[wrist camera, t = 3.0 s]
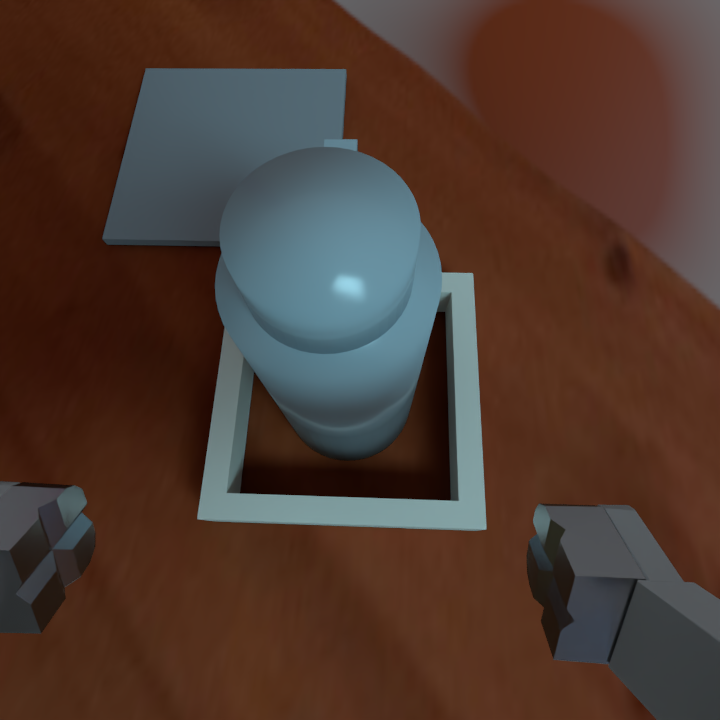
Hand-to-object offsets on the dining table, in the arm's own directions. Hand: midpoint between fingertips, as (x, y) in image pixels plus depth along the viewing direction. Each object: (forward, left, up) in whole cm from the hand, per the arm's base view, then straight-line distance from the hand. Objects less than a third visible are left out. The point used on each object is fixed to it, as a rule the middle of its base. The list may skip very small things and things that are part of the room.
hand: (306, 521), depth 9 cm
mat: (-7, +20, -12) cm, 24 cm away
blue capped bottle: (0, +7, -12) cm, 14 cm away
